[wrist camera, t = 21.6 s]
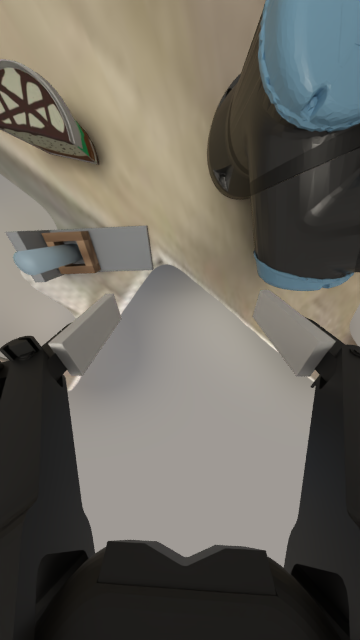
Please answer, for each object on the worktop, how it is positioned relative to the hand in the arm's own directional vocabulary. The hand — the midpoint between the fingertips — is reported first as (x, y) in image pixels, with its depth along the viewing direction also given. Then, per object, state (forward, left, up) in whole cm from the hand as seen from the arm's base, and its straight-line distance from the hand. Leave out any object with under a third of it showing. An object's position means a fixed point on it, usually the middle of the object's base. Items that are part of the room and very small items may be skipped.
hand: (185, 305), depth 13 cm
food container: (-21, -21, -29) cm, 41 cm away
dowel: (-2, -28, -28) cm, 39 cm away
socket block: (-2, -27, -27) cm, 39 cm away
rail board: (-2, -22, -29) cm, 36 cm away
